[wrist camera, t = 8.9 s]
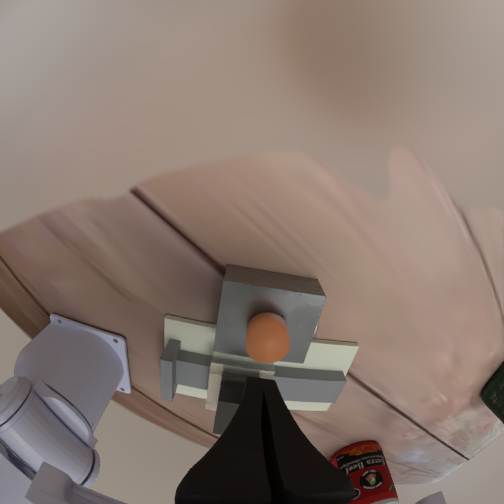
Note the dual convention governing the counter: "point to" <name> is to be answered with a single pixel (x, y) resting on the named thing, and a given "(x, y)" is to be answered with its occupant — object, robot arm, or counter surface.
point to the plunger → (267, 338)
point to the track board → (286, 373)
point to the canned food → (367, 473)
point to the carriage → (231, 384)
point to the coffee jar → (495, 394)
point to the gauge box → (267, 308)
